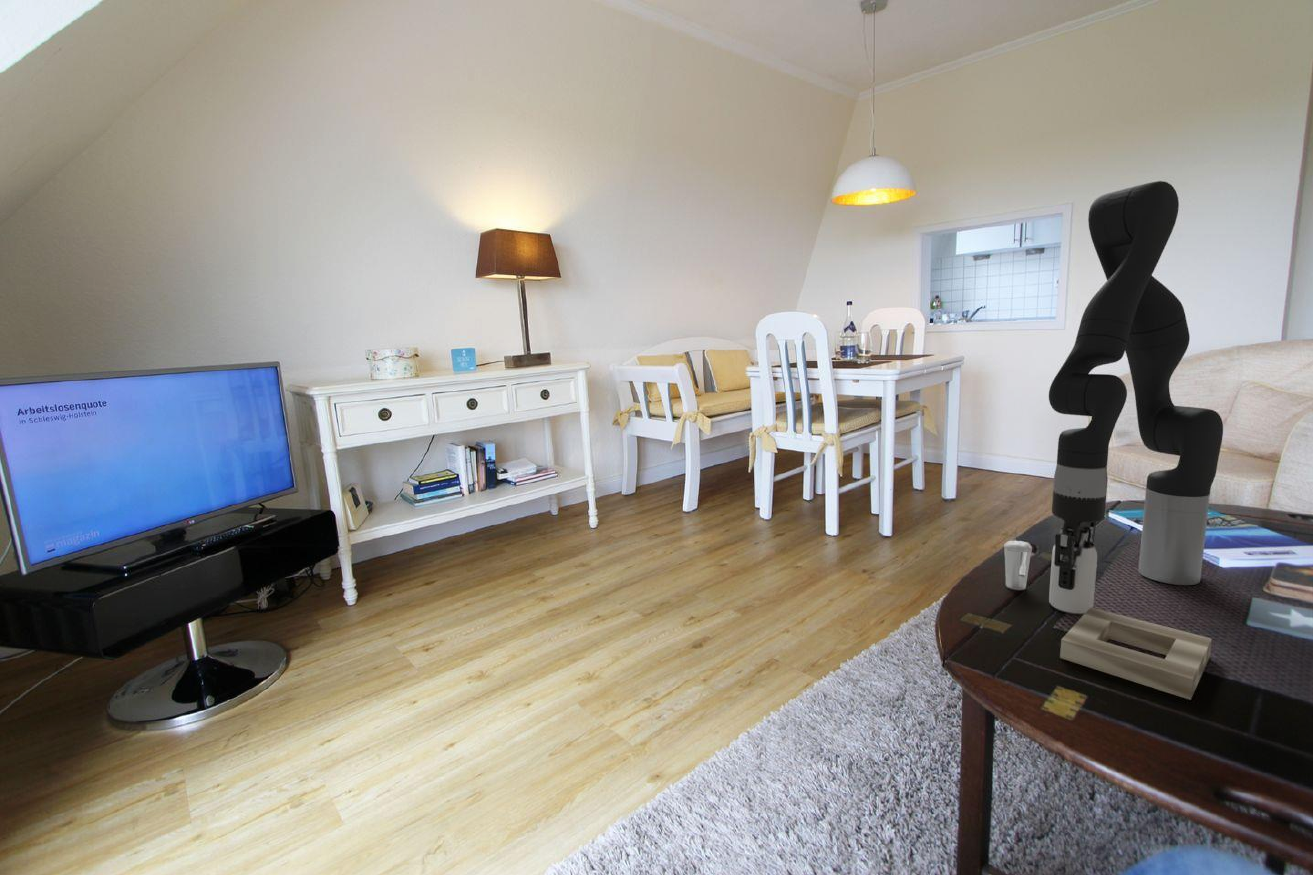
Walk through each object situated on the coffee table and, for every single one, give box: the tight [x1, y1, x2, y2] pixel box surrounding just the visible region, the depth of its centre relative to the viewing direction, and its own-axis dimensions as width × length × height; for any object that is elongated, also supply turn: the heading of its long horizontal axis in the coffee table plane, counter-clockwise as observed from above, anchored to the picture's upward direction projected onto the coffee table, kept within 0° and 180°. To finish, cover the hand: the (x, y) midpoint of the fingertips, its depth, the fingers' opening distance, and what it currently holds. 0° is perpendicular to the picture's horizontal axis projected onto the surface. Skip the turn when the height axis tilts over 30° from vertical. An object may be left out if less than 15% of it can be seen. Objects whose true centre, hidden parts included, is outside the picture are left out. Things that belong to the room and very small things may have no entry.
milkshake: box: [1003, 531, 1033, 591], centre depth 116 cm, size 4×5×10 cm
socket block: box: [1059, 607, 1213, 701], centre depth 90 cm, size 15×15×3 cm
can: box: [1048, 541, 1098, 615], centre depth 106 cm, size 6×6×12 cm
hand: (1072, 581), depth 106 cm, fingers closed on can, 6 cm apart
